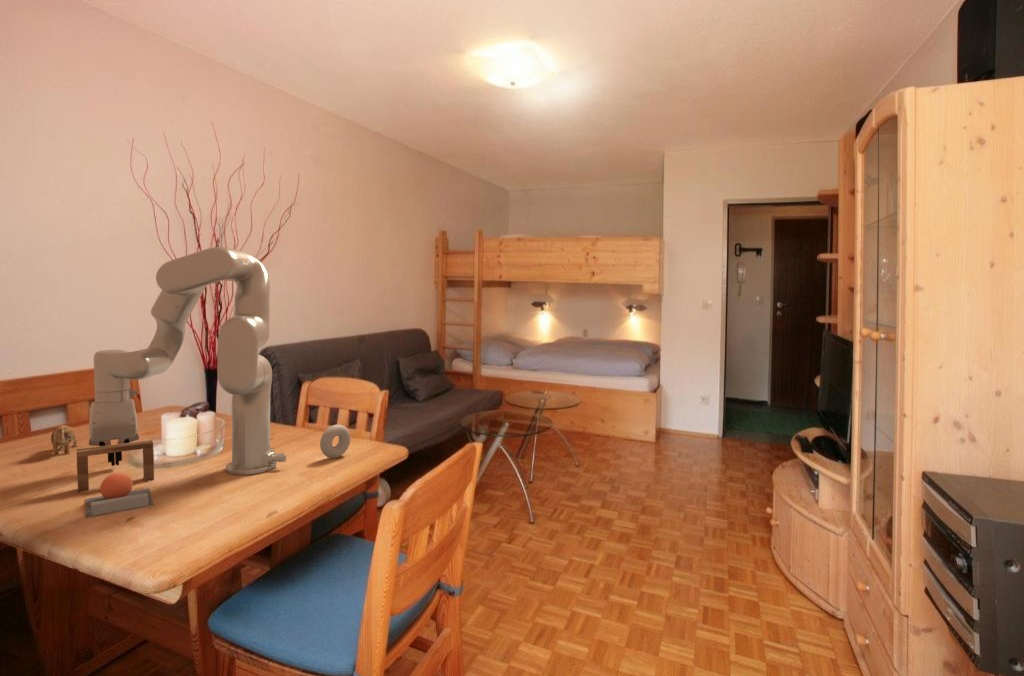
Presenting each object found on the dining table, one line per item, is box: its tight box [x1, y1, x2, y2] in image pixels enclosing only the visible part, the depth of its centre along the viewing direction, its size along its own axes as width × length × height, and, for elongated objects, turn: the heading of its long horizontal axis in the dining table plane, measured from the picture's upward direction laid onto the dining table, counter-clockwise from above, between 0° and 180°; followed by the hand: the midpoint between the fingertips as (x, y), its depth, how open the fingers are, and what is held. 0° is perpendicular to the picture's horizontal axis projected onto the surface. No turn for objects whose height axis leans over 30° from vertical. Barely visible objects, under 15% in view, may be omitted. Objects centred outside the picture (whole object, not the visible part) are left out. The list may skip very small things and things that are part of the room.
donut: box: [319, 424, 351, 459], centre depth 157 cm, size 10×4×10 cm, turn 146°
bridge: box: [76, 439, 155, 493], centre depth 131 cm, size 3×15×10 cm, turn 128°
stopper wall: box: [91, 493, 149, 517], centre depth 116 cm, size 2×10×2 cm, turn 129°
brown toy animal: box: [50, 425, 78, 457], centre depth 154 cm, size 15×5×9 cm, turn 36°
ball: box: [99, 472, 133, 499], centre depth 122 cm, size 6×6×6 cm
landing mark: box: [85, 488, 154, 519], centre depth 120 cm, size 12×12×1 cm
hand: (115, 464), depth 141 cm, fingers closed
